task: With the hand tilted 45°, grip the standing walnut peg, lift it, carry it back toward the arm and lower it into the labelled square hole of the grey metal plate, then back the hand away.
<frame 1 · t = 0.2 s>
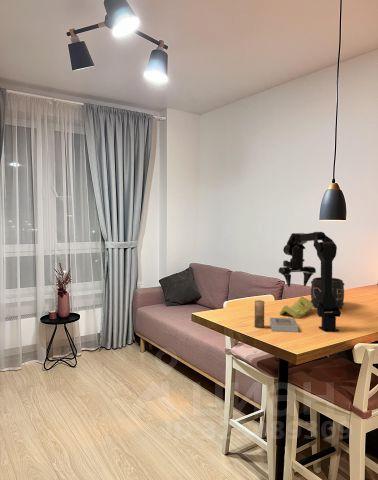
hand: (296, 286, 192), 15 cm above the table, tool pointing down, fingers open, 9 cm apart
walnut peg: (259, 326, 169), on the table
patterned black pot: (327, 307, 207), on the table
plastic component: (297, 314, 193), on the table
hole plate: (283, 327, 168), on the table
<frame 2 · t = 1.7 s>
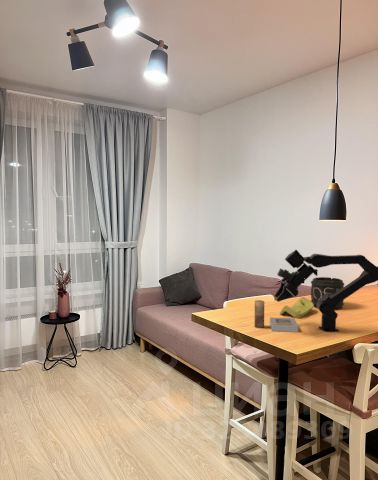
hand: (276, 298, 168), 13 cm above the table, tool tilted 45°, fingers open, 9 cm apart
nothing on the table moved.
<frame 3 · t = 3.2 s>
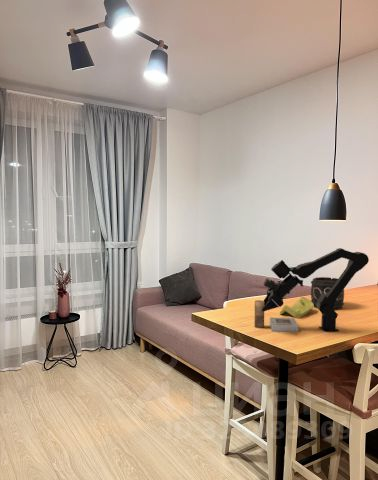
hand: (261, 308, 169), 9 cm above the table, tool tilted 45°, fingers open, 9 cm apart
nothing on the table moved.
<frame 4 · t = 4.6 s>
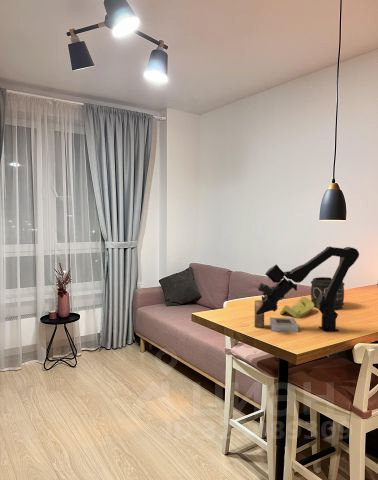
hand: (256, 312, 169), 7 cm above the table, tool tilted 45°, fingers closed on walnut peg, 4 cm apart
walnut peg: (259, 326, 169), on the table, touching gripper
everything else where it was.
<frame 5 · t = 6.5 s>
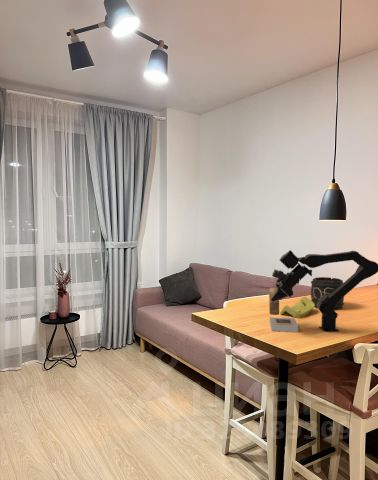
hand: (271, 299, 168), 13 cm above the table, tool tilted 45°, fingers closed on walnut peg, 4 cm apart
walnut peg: (274, 313, 168), point 6 cm above the table, touching gripper
everything else where it was.
when the fingers open (8 cm above the table, at t = 8.6 s): walnut peg drops 1 cm, resting in hole plate.
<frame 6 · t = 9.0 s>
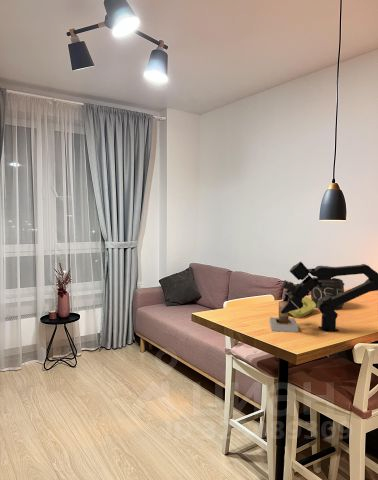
hand: (280, 310, 168), 8 cm above the table, tool tilted 45°, fingers open, 9 cm apart
walnut peg: (283, 327, 168), resting in hole plate
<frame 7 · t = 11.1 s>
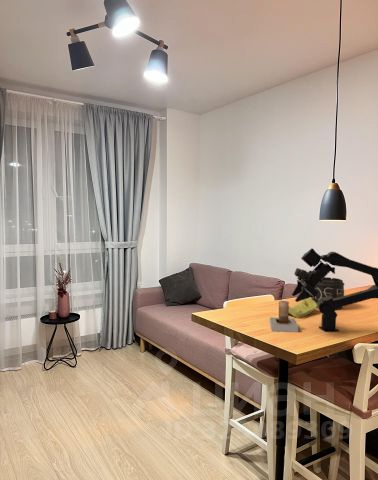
hand: (294, 298, 167), 14 cm above the table, tool tilted 40°, fingers open, 9 cm apart
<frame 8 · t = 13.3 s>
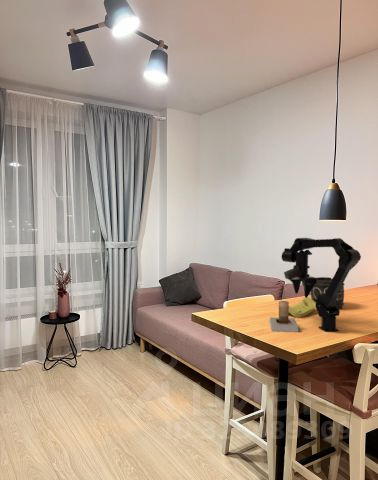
hand: (301, 295, 177), 13 cm above the table, tool pointing down, fingers open, 9 cm apart
at the end: walnut peg 0.1 cm off-centre on the hole plate, point 0.0 cm above the hole plate's base; walnut peg tilted 0°; the gripper is holding nothing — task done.
